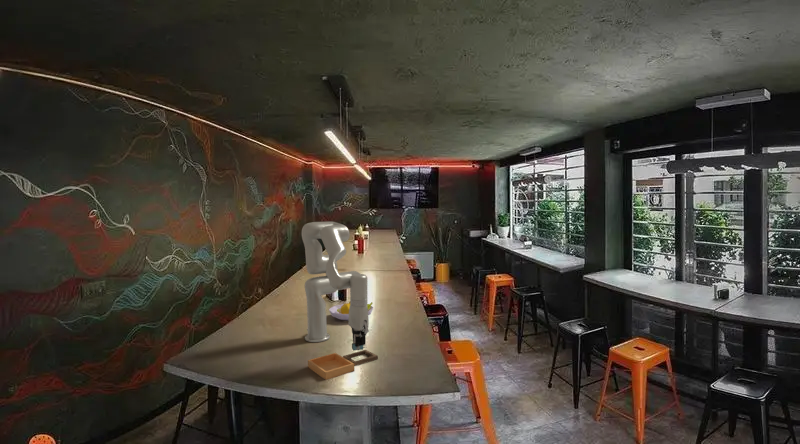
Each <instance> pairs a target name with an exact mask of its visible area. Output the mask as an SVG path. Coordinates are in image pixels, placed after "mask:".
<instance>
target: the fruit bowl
mask: <svg viewBox="0 0 800 444" xmlns="http://www.w3.org/2000/svg"><path fill="white" fill-rule="evenodd" d="M373 304H374V303H373V302H371V303H367V308H368V316H370V315H371V314H372V312H373V310H374V307H375V306H372V305H373ZM349 308H350V301H348V303H342V304H338V305H337V304H336V305H332V306H331V307H330V308H328V312H329V313H330V316H331V317H333V318H336V319H338V320H341V321H347V322H348V321H349Z"/></svg>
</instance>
